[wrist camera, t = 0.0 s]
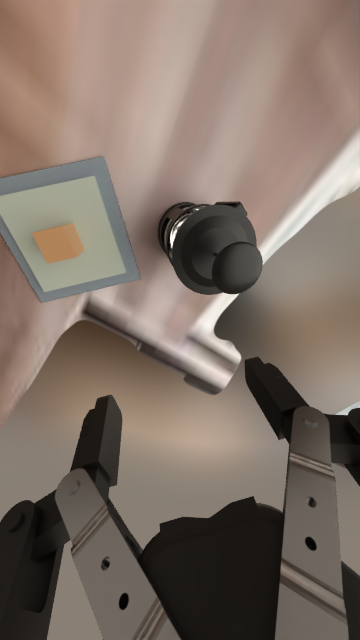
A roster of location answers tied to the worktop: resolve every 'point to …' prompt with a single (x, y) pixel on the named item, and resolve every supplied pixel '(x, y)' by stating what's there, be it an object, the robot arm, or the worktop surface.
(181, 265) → the french press
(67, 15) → the worktop surface
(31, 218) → the lid
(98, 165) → the mat
